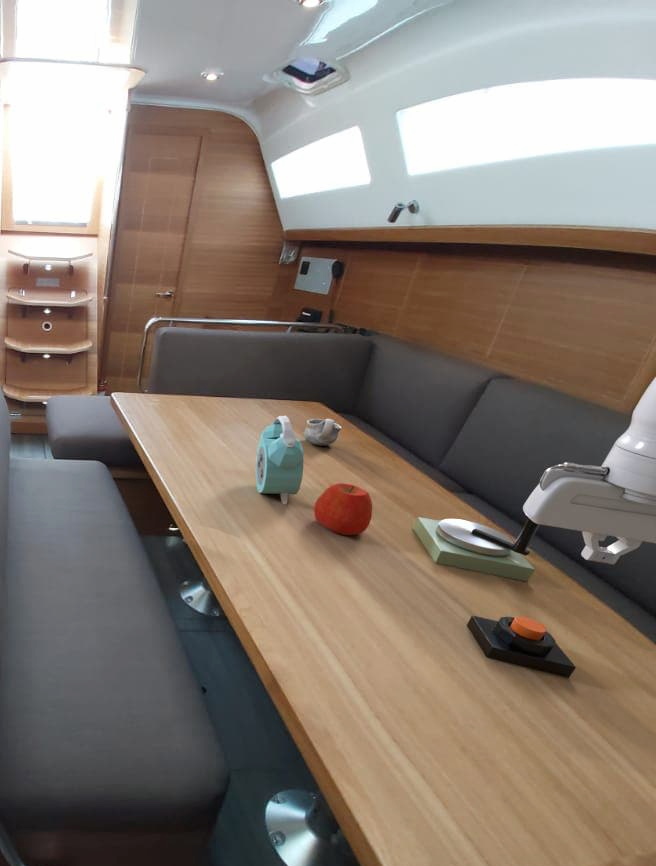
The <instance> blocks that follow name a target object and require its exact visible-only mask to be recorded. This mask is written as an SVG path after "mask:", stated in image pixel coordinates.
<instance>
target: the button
mask: <svg viewBox="0 0 656 866" xmlns="http://www.w3.org/2000/svg"><path fill="white" fill-rule="evenodd" d="M514 618H515V619H514V621H513V622H512V624H511V626H510V628H511V629H512V630H513V631H515V632H516V633H517V634H519V635H521V636H524V637H526V638H528V639H532V640H537V641H539V640H541V638H542V637H543V635H544V634H545V632H546V631H547V628H546V626H544V624H542V623H541V622H538V621H537V620H535V619H532V618H530V617H527V616H523V615H522V616H519V615H518V616H515V617H514Z"/></svg>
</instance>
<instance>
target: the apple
mask: <svg viewBox="0 0 656 866" xmlns="http://www.w3.org/2000/svg"><path fill="white" fill-rule="evenodd" d="M313 510H314V511H313V513H314V518H315V520H316V522H317V523H318V524H320V525H321V526H323V527H324V528H326V529H327V530H330V531H332V532H333V533H337V534H340V535H344V536H355V535H360V534H363V533H364V532H365V531H366V530H367V529H368V527H369V526H370V523H371V520H372V517H373V516H372V514H373V501H372V498H371V496H370V494H369V492H368V491H366V490H365V489H363V488H361V487H359V486H358V485H354V484H350V483H341V482H340V483H335V484H331V485H330V486H329V487H327V488H326V489H325V490H324V491H323V492H322V493H321V494H320V495H319V496H318V498H317V499H316V501H315V503H314V507H313Z"/></svg>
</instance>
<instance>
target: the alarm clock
mask: <svg viewBox="0 0 656 866" xmlns="http://www.w3.org/2000/svg"><path fill="white" fill-rule="evenodd" d="M304 456H305V455H304V448H303V444H302V443H301V440H300V439H298V438H295V433H294V429H293V425H292V423H291V422H290V419H289V417H288V416H287V415H279V416H277V417H276V418H275V419H274V421H273V422H272V423H271V425H267V426H266V427H265V428H264V430H263V431H262V433H261V434H260V440H259V442H258V445H257V449H256V456H255V484H256V485H255V486H256V489H257V492H258V493H259V494H272V495H274V494H275V495H276V494H277V495H280V502H281V504H283V505H287V504H288V500H289V495H296V494H298V492H299V490H300V488H301V485H302V481H303V473H304Z"/></svg>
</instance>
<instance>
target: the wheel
mask: <svg viewBox="0 0 656 866" xmlns="http://www.w3.org/2000/svg"><path fill="white" fill-rule="evenodd" d="M439 521H440V522H439V524H438V527H437V532H438V534H439V535H440V536H441V537H443V538H444V539H445V540H447V541H449V542H451V543H452V544H455V545H457V546H459V547H461V548H464V549H467V550H470V551H473V552H477V553H481V554H486V555H492V556H504V555H508V554H509V553H510V552H511V550H512V551H514V552H516V553H520V554H521V555H522V556H528V555H530V553H531V551H530V550H528V549H527V548H528V546H529V545H530V542H531V541H532V539H533V538H534V536H535V534H536V532H537V530H538V529H539V527H540V525H541V524H536V523H535V522H533V521H532V520H531V519H530V518H529V517H528V518H527V519H526V522H525V524H524V525H523V527H522V529H521V530H520V533H519V534H518V536H517V538H516V540H514V541H515V542H513V540H512V539H511V538H509V537H508V536H507V535H506V534H504V533H502V532H500V531H499V530H496V529H494V528H491V527H490V526H486V525H484V524H481V523H478V522H473V521H470V520H465V519H459V518H445V519H442V520H439Z"/></svg>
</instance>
